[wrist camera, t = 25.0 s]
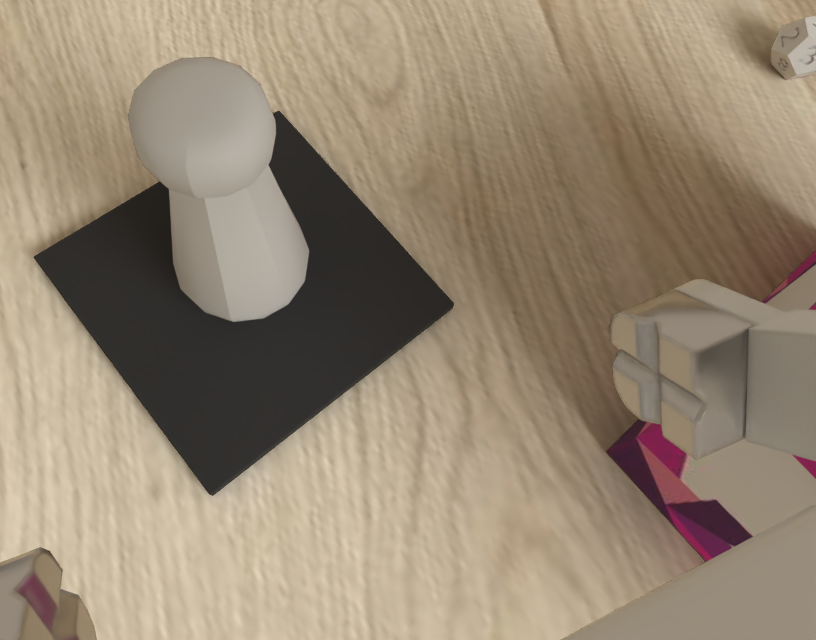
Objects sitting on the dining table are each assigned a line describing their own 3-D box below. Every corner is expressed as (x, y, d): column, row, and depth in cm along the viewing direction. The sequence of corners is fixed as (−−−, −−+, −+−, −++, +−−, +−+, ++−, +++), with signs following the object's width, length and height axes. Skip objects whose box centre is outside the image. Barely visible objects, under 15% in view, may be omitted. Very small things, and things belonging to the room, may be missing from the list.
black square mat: (212, 496, 28) (209, 494, 28) (38, 262, 31) (32, 256, 31) (452, 308, 33) (454, 303, 32) (279, 116, 36) (279, 109, 35)
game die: (774, 32, 42) (806, -6, 39) (826, 65, 41) (862, 28, 38) (749, 65, 40) (780, 28, 38) (802, 100, 40) (838, 64, 37)
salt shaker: (159, 278, 31) (47, 91, 19) (251, 203, 33) (203, -10, 21) (245, 362, 30) (185, 222, 18) (336, 280, 32) (336, 104, 20)
